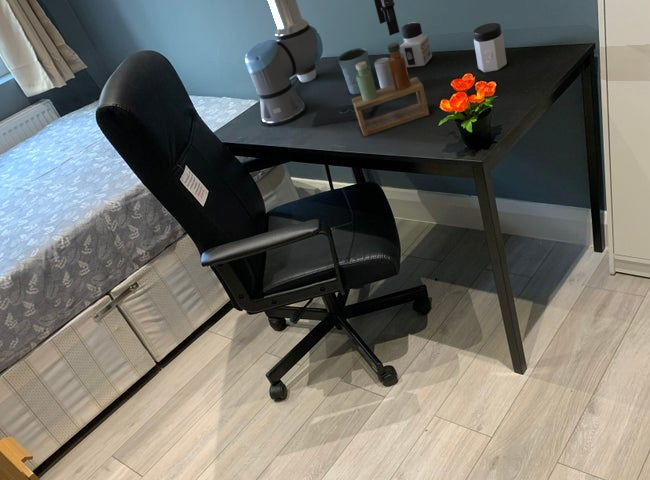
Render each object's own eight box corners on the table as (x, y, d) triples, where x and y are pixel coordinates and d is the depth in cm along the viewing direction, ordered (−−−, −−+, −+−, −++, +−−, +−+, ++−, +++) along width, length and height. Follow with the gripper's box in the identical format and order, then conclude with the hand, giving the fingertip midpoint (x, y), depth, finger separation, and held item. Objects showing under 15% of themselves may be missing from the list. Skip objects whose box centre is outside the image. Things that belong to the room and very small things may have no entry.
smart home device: (370, 111, 192) (311, 121, 199) (371, 117, 193) (312, 126, 200) (376, 100, 198) (318, 109, 205) (377, 105, 199) (320, 114, 206)
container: (424, 65, 215) (416, 27, 207) (404, 68, 219) (395, 30, 211) (432, 56, 220) (424, 18, 212) (412, 58, 223) (404, 21, 216)
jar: (476, 74, 197) (470, 35, 190) (480, 63, 203) (474, 26, 195) (505, 69, 193) (500, 30, 186) (508, 59, 199) (503, 20, 192)
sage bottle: (361, 97, 183) (352, 64, 177) (376, 92, 183) (366, 58, 177) (364, 102, 180) (354, 68, 174) (378, 97, 179) (369, 63, 173)
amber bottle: (393, 86, 183) (383, 45, 176) (408, 81, 183) (399, 40, 176) (397, 91, 179) (386, 49, 172) (412, 86, 179) (402, 44, 172)
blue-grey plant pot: (372, 79, 218) (363, 45, 211) (379, 88, 210) (370, 52, 203) (345, 89, 218) (335, 55, 211) (350, 98, 210) (340, 63, 203)
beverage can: (397, 99, 199) (387, 62, 191) (382, 101, 200) (372, 65, 193) (399, 92, 202) (390, 56, 195) (385, 95, 204) (375, 59, 196)
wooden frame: (359, 126, 190) (351, 98, 185) (422, 105, 190) (416, 76, 184) (364, 136, 184) (355, 107, 178) (429, 114, 183) (422, 85, 178)
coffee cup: (296, 77, 243) (285, 46, 236) (323, 70, 241) (313, 38, 234) (292, 87, 235) (281, 56, 227) (320, 80, 232) (310, 48, 225)
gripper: (392, -57, 148) (412, 33, 161) (373, -69, 168) (393, 13, 181) (362, -47, 148) (385, 43, 161) (346, -59, 168) (368, 22, 181)
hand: (389, 27), depth 171 cm, fingers open, 13 cm apart
